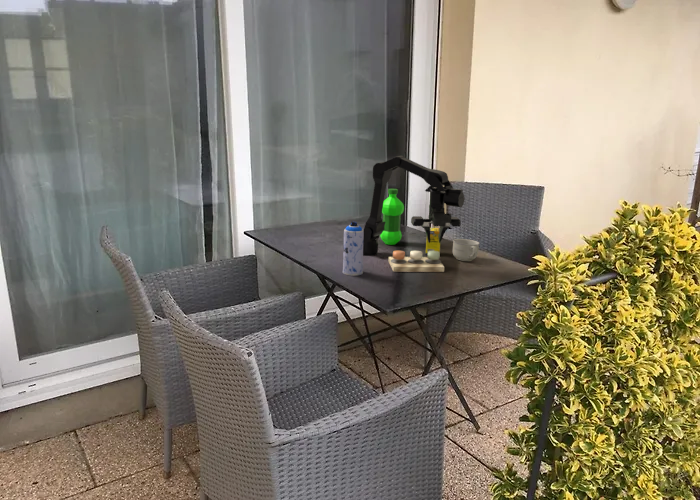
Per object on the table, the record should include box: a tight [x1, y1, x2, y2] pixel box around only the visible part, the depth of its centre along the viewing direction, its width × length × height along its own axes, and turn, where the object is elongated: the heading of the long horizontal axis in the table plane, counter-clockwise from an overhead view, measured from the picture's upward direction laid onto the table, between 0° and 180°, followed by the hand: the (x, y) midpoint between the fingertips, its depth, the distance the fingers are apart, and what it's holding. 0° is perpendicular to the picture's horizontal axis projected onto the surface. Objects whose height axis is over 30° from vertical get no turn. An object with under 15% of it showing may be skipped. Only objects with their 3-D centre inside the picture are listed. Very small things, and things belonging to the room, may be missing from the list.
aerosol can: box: [342, 220, 364, 277], centre depth 229 cm, size 8×8×20 cm
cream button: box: [409, 250, 423, 260], centre depth 240 cm, size 5×5×2 cm
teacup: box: [452, 238, 480, 262], centre depth 251 cm, size 14×11×8 cm
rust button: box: [392, 250, 406, 260], centre depth 239 cm, size 5×5×2 cm
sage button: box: [426, 251, 441, 260], centre depth 240 cm, size 5×5×2 cm
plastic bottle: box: [379, 188, 405, 246], centre depth 272 cm, size 10×10×25 cm
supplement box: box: [425, 227, 442, 256], centre depth 259 cm, size 6×6×11 cm
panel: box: [388, 256, 445, 273], centre depth 241 cm, size 20×14×2 cm
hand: (434, 242), depth 239 cm, fingers open, 4 cm apart
